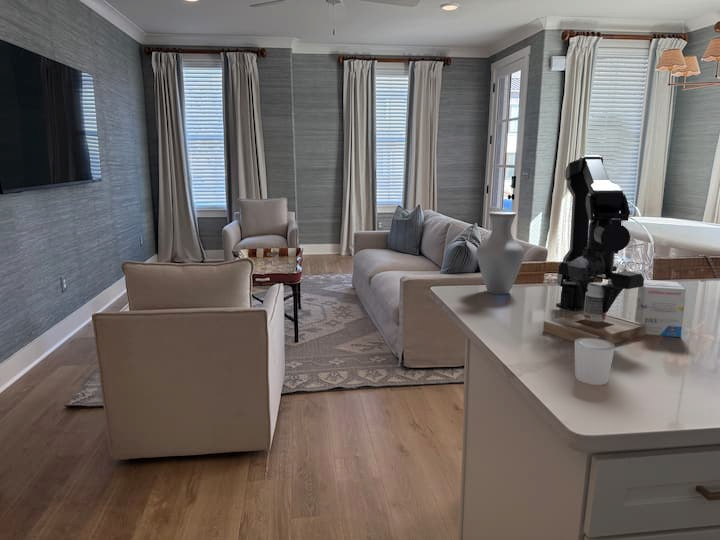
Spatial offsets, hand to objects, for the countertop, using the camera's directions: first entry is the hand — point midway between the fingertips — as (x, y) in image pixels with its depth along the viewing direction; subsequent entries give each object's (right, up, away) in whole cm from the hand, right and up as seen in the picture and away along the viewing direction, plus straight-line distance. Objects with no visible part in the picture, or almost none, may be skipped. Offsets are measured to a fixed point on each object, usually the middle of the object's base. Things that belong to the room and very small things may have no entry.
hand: (595, 309), depth 120 cm
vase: (-12, +2, +40) cm, 42 cm away
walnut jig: (0, -6, +1) cm, 6 cm away
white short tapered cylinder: (-12, -11, -24) cm, 29 cm away
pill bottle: (0, -2, 0) cm, 2 cm away
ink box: (+16, -5, +3) cm, 17 cm away
